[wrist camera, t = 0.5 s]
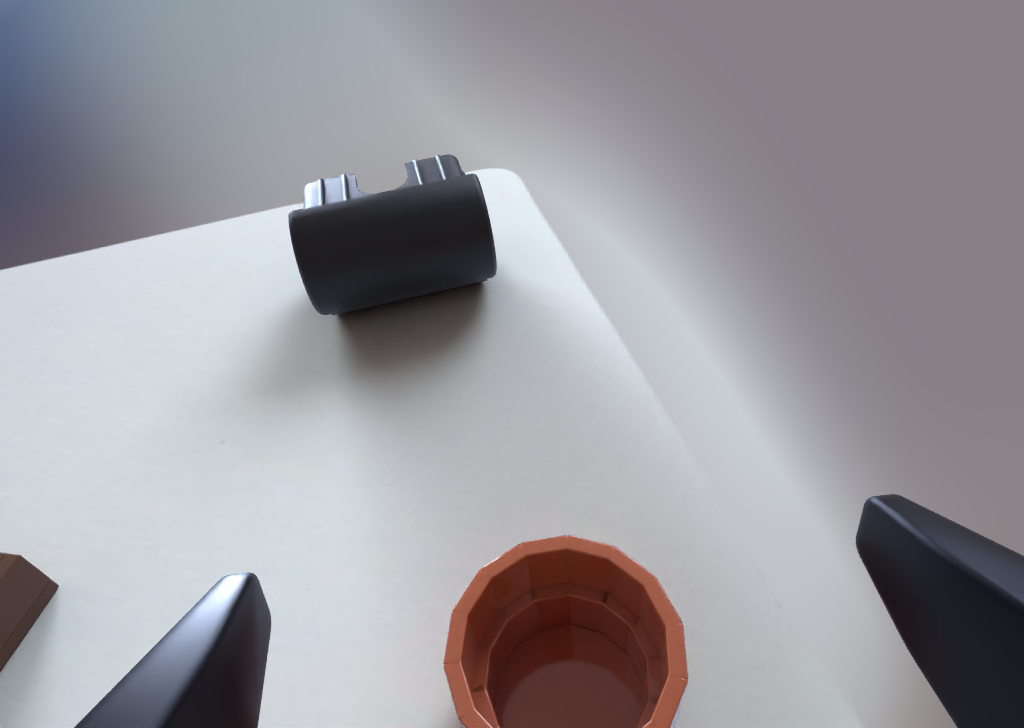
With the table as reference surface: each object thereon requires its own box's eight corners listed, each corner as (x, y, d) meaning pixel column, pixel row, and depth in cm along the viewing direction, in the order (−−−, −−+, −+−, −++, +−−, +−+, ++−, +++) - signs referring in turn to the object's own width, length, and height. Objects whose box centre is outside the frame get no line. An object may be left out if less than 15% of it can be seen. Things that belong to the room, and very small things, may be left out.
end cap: (327, 347, 35) (285, 244, 30) (324, 273, 40) (288, 175, 35) (503, 306, 36) (489, 201, 31) (479, 240, 41) (463, 140, 36)
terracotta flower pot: (703, 802, 19) (726, 756, 15) (478, 843, 19) (450, 805, 15) (641, 592, 24) (649, 520, 20) (461, 623, 23) (437, 555, 20)
